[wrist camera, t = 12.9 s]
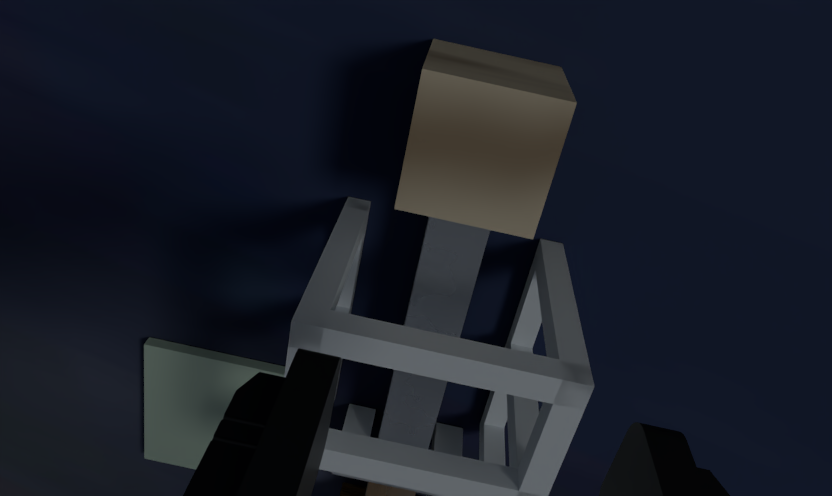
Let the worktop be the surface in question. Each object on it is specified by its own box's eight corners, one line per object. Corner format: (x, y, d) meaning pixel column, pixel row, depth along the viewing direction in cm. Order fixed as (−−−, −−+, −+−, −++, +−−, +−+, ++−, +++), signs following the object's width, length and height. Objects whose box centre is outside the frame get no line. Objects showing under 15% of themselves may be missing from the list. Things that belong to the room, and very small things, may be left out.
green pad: (289, 480, 37) (286, 488, 37) (149, 450, 37) (144, 458, 36) (305, 370, 33) (302, 378, 33) (149, 337, 33) (143, 344, 33)
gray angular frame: (491, 449, 35) (493, 625, 26) (313, 410, 34) (258, 575, 26) (562, 243, 29) (594, 386, 20) (348, 196, 29) (291, 320, 20)
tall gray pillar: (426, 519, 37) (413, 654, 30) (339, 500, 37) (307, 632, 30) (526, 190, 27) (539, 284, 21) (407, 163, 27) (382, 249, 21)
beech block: (525, 184, 28) (533, 239, 23) (408, 159, 28) (394, 209, 23) (561, 66, 25) (576, 102, 21) (433, 38, 25) (422, 68, 21)
